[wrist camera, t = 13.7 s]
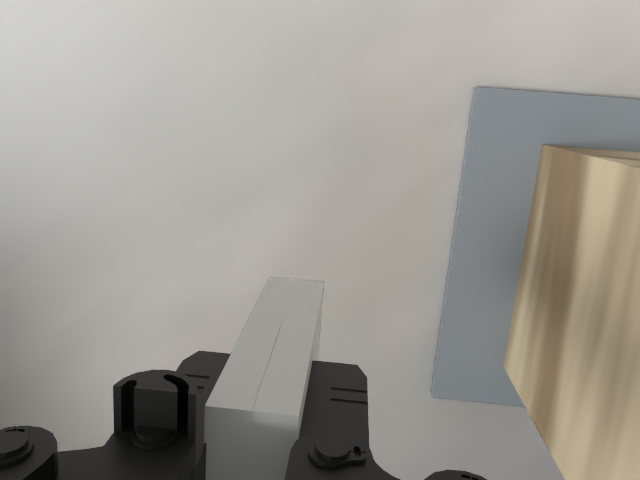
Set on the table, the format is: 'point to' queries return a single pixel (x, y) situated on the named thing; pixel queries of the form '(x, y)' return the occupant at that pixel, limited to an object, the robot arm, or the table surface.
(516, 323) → the slab
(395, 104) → the table surface
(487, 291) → the mat
